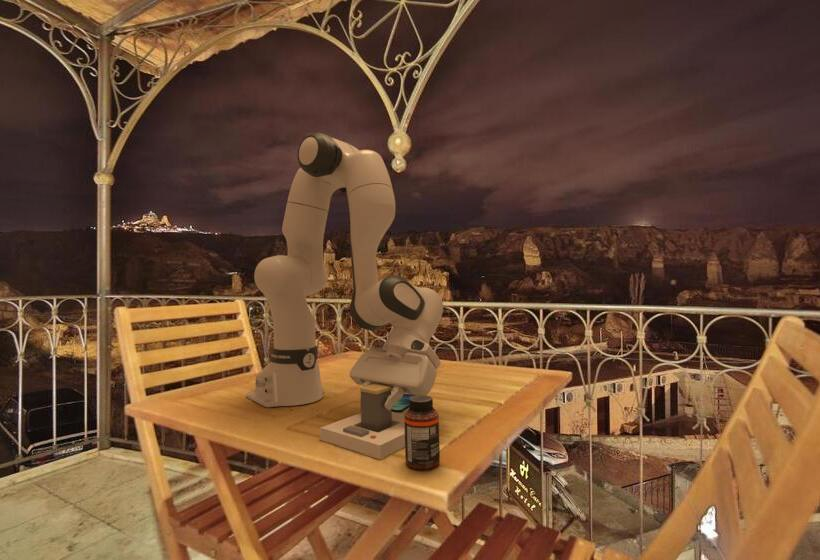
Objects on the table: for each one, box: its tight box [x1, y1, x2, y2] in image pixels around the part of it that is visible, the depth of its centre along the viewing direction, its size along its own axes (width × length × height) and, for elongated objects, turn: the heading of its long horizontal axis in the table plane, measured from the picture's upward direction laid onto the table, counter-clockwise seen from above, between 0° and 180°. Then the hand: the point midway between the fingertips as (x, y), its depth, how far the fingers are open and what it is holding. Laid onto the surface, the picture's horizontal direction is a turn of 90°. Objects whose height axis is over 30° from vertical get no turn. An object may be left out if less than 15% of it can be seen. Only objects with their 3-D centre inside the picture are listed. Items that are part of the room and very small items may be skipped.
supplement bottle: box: [404, 394, 441, 471], centre depth 71 cm, size 6×6×11 cm
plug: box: [359, 384, 392, 432], centre depth 84 cm, size 5×5×8 cm
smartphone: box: [392, 393, 416, 414], centre depth 107 cm, size 8×1×15 cm
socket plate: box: [319, 412, 405, 460], centre depth 84 cm, size 16×16×3 cm
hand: (374, 405), depth 84 cm, fingers closed on plug, 4 cm apart
